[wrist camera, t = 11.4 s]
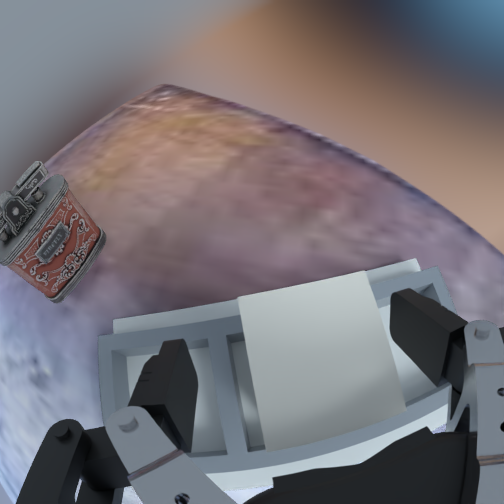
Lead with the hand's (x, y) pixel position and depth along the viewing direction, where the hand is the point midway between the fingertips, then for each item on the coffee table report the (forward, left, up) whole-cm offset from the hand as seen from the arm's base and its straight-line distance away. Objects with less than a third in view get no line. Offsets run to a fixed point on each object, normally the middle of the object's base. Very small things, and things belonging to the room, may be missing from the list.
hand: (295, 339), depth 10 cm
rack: (0, +1, -8) cm, 8 cm away
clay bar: (0, +1, -6) cm, 7 cm away
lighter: (+16, -11, -8) cm, 21 cm away
